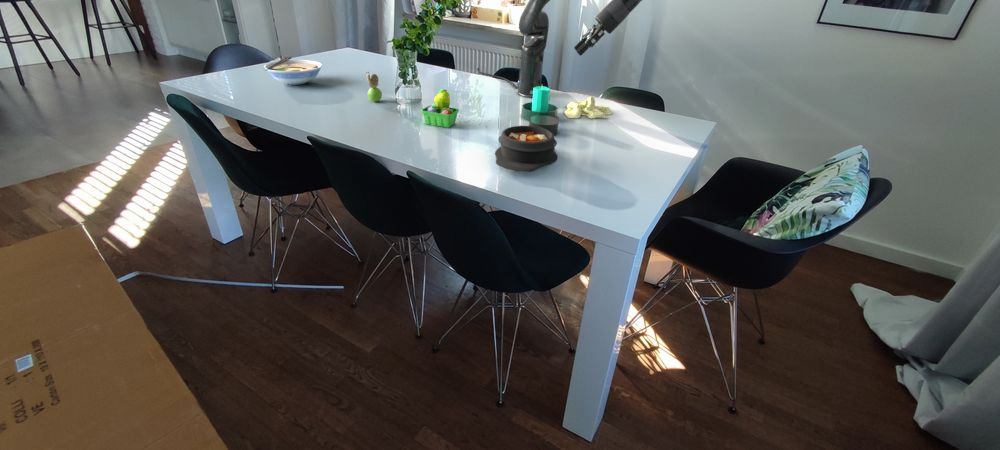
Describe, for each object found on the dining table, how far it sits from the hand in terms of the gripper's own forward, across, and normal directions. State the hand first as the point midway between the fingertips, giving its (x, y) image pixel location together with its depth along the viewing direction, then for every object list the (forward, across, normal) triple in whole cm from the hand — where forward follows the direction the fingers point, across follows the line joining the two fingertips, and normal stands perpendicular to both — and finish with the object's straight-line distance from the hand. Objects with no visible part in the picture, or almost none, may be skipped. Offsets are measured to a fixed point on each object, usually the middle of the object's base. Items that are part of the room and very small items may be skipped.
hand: (577, 51), depth 167 cm
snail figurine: (+67, -9, -42) cm, 79 cm away
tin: (+26, -1, +7) cm, 27 cm away
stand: (+25, +15, +8) cm, 31 cm away
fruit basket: (+49, +13, -19) cm, 54 cm away
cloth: (+13, -10, +21) cm, 27 cm away
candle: (+25, -1, +7) cm, 26 cm away
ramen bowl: (+92, -30, -72) cm, 121 cm away
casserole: (+30, +43, +4) cm, 53 cm away
